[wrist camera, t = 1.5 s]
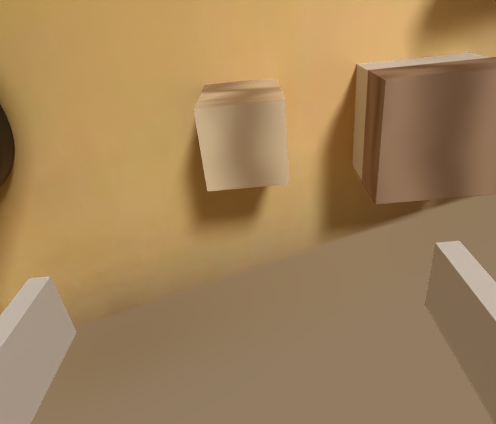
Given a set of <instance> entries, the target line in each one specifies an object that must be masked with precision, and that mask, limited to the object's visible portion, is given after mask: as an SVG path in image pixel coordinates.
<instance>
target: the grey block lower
mask: <svg viewBox="0 0 496 424" xmlns="http://www.w3.org/2000/svg"><path fill="white" fill-rule="evenodd" d="M481 58H490V57H486V56H482V55H478V54H474V53H470V52H468V53H458V54H449V55H439V56H429V57H419V58H410V59H400V60H390V61H380V62H371V63H361V64H357V70H356V94H355V117H354V140H353V164H352V166H353V168H354V169H355V171H356V173H357V174H358V176H359V177H360V179H361V180H362V167H363V150H364V132H365V115H366V97H367V80H368V70H373V69H383V68H393V67H403V66H412V65H422V64H432V63H442V62H452V61H462V60H471V59H481Z"/></svg>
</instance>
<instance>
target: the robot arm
mask: <svg viewBox="0 0 496 424" xmlns="http://www.w3.org/2000/svg"><path fill="white" fill-rule="evenodd" d="M13 156H14V144H13V137H12V132H11V128H10V125H9V122H8V120H7V117H6V115H5V113H4V111H3V109H2V107H1V105H0V186H1V185H2V184H3V182H4V181H5V180H6V178H7V176H8V175H9V172H10V170H11V167H12V163H13ZM425 306H426V308H427V309H428V311H429V313H430V314H431V316H432V318H433V320H434V321H435V323H436V325H437V327H438V328H439V330H440V332H441V333H442V335H443V337H444V339H445V340H446V342H447V344H448V345H449V347H450V349H451V351H452V352H453V354H454V356H455V357H456V359H457V361H458V363H459V364H460V366H461V368H462V369H463V371H464V373H465V375H466V376H467V378H468V380H469V381H470V383H471V385H472V387H473V388H474V390H475V392H476V393H477V395H478V397H479V399H480V400H481V402H482V404H483V405H484V407H485V409H486V411H487V412H488V414H489V416H490V418H491V419H492V421H493V423H494V424H496V282H495V281H494V280H493V279H492V278H491V277H490V276H489V274H488V273H487V272H486V271H485V270H484V269H483V267H482V266H481V265H480V264H479V263H478V262H477V261H476V259H475V258H473V256H472V255H471V254H470V253H469V251H468V250H467V249H466V248H465V247H464V246H463V245H462V243H461V242H460V241H451V242H440V243H435V249H434V255H433V260H432V267H431V272H430V278H429V284H428V289H427V295H426V301H425ZM75 334H76V330H75V328H74V326H73V324H72V322H71V319H70V317H69V315H68V313H67V311H66V309H65V306H64V304H63V302H62V300H61V298H60V296H59V294H58V291H57V289H56V287H55V285H54V283H53V281H52V278H51V276H48V277H37V278H29V279H28V280H27V282H26V283H25V284H24V285H23V287H22V288H21V289H20V291H19V292H18V293H17V295H16V296H15V297H14V298H13V300H12V301H11V302H10V304H9V305H8V306H7V308H6V309H5V310H4V311H3V313H2V314H1V315H0V424H30V423H31V422H32V420H33V418H34V416H35V414H36V412H37V410H38V408H39V406H40V404H41V402H42V400H43V398H44V396H45V394H46V392H47V390H48V388H49V386H50V384H51V382H52V380H53V378H54V376H55V374H56V372H57V370H58V368H59V366H60V364H61V362H62V360H63V358H64V356H65V354H66V352H67V350H68V348H69V346H70V344H71V342H72V340H73V338H74V336H75Z"/></svg>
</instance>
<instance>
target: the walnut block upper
mask: <svg viewBox="0 0 496 424" xmlns="http://www.w3.org/2000/svg"><path fill="white" fill-rule="evenodd" d="M362 183H363V185H364V186H365V188H366V190H367V191H368V193H369V194H370V196H371V198H372V199H373V201H374V202H375V204H387V203H399V202H411V201H422V200H434V199H446V198H457V197H469V196H480V195H492V194H496V57H491V58H481V59H471V60H462V61H452V62H442V63H432V64H422V65H412V66H403V67H393V68H383V69H373V70H368V80H367V97H366V115H365V132H364V150H363V167H362Z"/></svg>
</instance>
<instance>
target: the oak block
mask: <svg viewBox="0 0 496 424" xmlns="http://www.w3.org/2000/svg"><path fill="white" fill-rule="evenodd" d="M193 110H194V116H195V122H196V127H197V133H198V139H199V145H200V151H201V157H202V163H203V169H204V175H205V181H206V187H207V191H219V190H230V189H241V188H252V187H263V186H274V185H285V184H289V165H288V144H287V124H286V103H285V98H284V95H283V93H282V90H281V88H280V85H279V82H278V80H277V78H268V79H259V80H249V81H239V82H229V83H220V84H210V85H205V86H204V88H203V90H202V93H201V95H200V97H199V99H198V101H197V103H196V105H195V107H194V109H193Z"/></svg>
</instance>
